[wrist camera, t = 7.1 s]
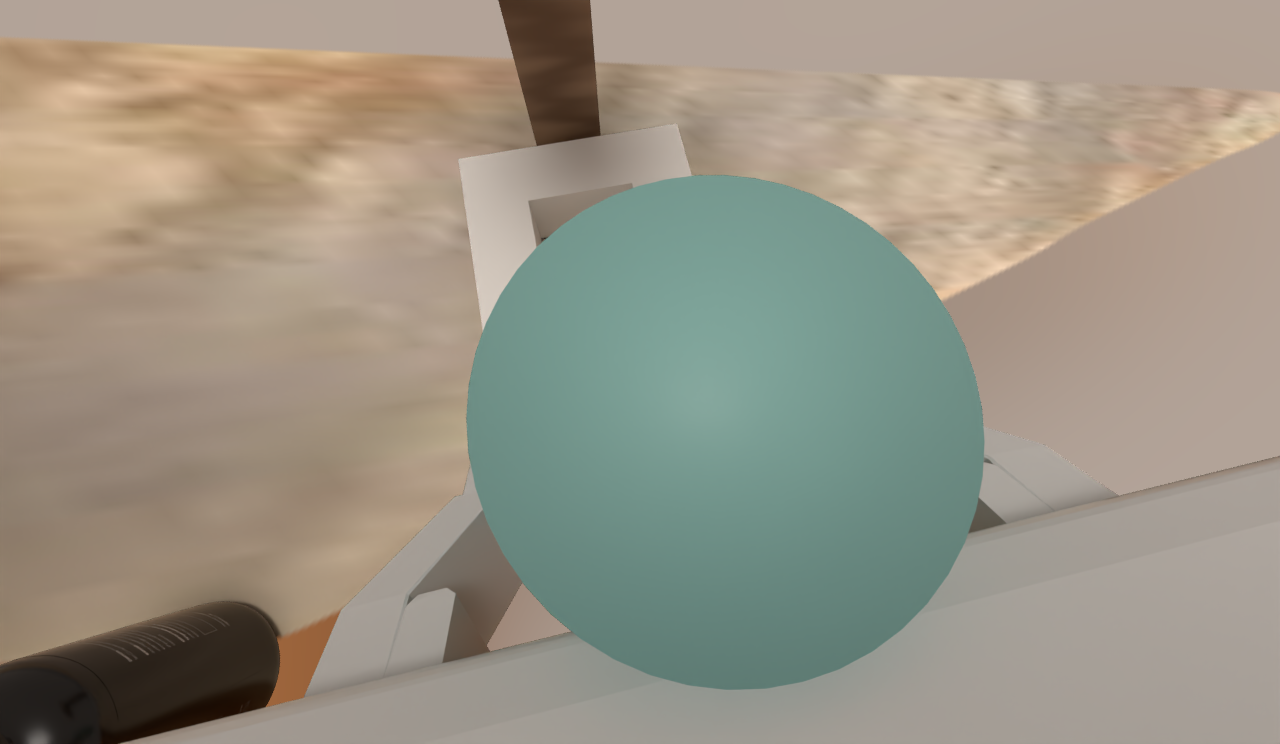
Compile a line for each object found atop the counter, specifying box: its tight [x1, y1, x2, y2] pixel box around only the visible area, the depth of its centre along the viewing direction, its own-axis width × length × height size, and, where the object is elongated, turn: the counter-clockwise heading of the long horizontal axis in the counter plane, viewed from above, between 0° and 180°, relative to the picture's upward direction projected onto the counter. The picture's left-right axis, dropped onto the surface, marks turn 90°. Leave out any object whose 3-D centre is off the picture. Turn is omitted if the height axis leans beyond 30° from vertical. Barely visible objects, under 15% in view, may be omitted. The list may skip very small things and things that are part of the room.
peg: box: [466, 175, 985, 690], centre depth 9 cm, size 4×4×12 cm
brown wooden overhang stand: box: [499, 0, 600, 146], centre depth 18 cm, size 10×11×25 cm
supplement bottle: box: [0, 602, 280, 744], centre depth 17 cm, size 7×7×12 cm
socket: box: [458, 123, 692, 330], centre depth 27 cm, size 13×13×4 cm
